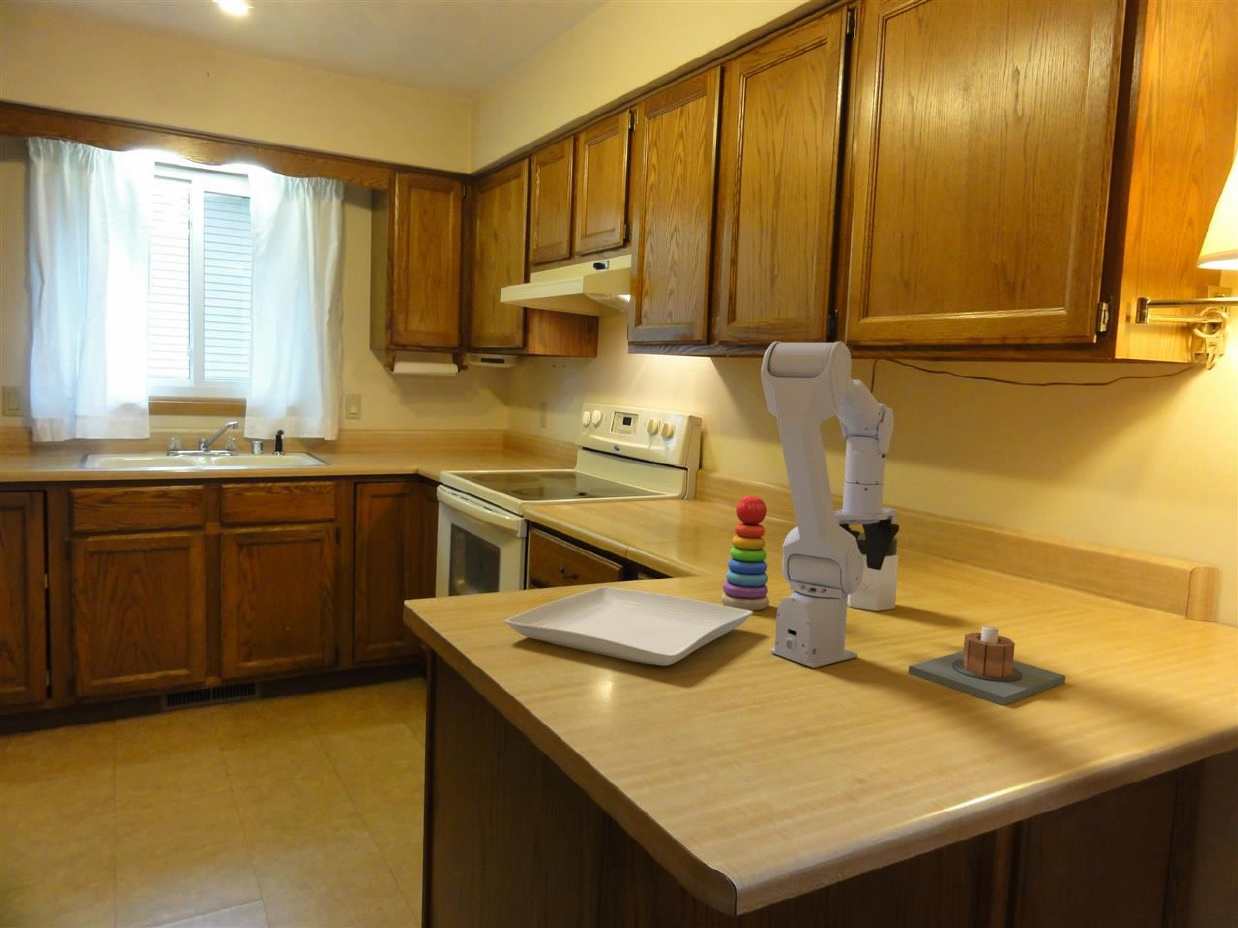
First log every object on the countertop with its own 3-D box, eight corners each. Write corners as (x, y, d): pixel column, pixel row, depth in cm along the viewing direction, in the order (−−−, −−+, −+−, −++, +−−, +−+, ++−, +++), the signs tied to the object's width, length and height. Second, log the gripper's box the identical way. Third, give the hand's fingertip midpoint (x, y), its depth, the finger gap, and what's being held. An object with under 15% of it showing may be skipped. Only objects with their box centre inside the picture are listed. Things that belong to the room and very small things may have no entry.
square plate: (754, 633, 128) (756, 607, 127) (672, 684, 104) (674, 653, 104) (602, 603, 141) (603, 581, 141) (500, 643, 118) (500, 616, 118)
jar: (836, 605, 145) (840, 536, 144) (848, 596, 152) (852, 530, 151) (889, 614, 140) (894, 543, 139) (899, 604, 148) (904, 536, 146)
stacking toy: (768, 614, 138) (774, 500, 136) (719, 609, 139) (724, 497, 137) (769, 602, 145) (775, 494, 144) (723, 598, 147) (728, 491, 145)
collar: (995, 679, 106) (998, 648, 106) (955, 666, 110) (957, 636, 110) (1019, 671, 109) (1021, 641, 109) (978, 659, 114) (981, 630, 113)
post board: (1003, 705, 100) (1008, 651, 100) (908, 673, 111) (912, 624, 110) (1064, 682, 109) (1069, 633, 109) (971, 655, 120) (975, 609, 119)
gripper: (854, 487, 119) (848, 581, 121) (916, 483, 128) (909, 571, 129) (815, 482, 125) (810, 571, 126) (877, 478, 134) (871, 562, 135)
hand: (858, 571), depth 128 cm, fingers open, 7 cm apart
